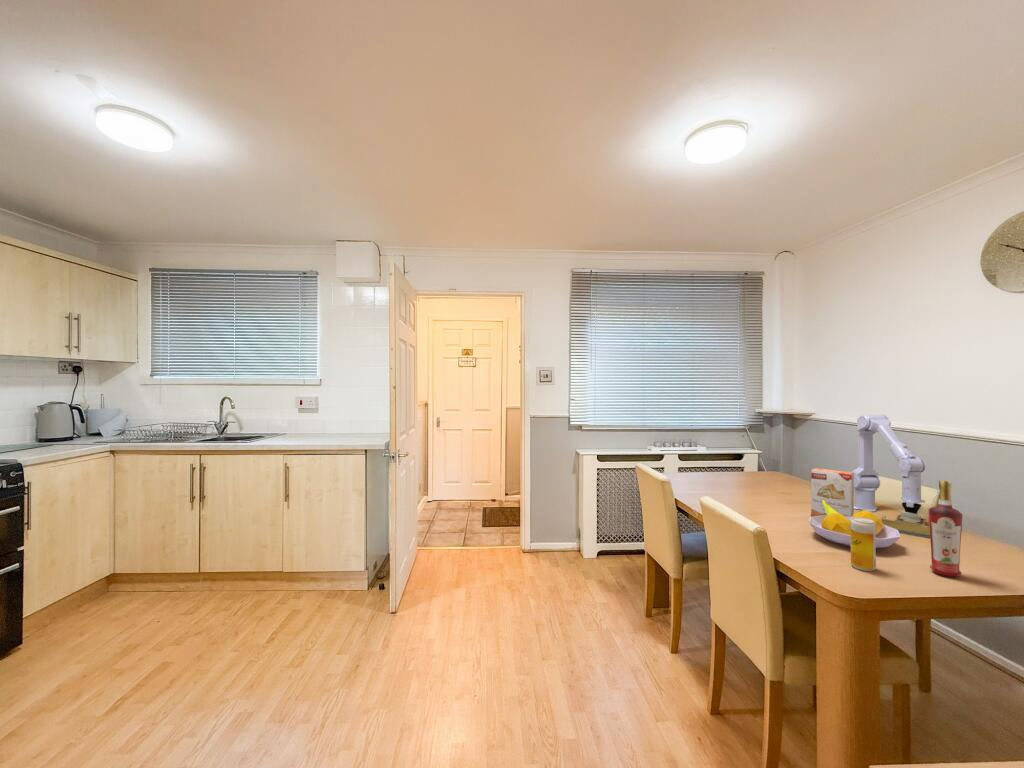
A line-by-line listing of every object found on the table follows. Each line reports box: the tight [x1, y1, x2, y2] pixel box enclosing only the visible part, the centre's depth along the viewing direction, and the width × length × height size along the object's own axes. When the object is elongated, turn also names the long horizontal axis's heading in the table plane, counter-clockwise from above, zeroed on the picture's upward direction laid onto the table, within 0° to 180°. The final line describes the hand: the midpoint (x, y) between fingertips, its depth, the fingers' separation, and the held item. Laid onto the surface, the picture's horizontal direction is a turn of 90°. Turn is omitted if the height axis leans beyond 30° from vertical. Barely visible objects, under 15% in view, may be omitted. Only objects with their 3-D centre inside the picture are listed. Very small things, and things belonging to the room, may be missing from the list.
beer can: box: [850, 518, 877, 572], centre depth 137 cm, size 6×6×15 cm
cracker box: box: [810, 467, 855, 517], centre depth 185 cm, size 14×6×21 cm, turn 45°
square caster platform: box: [894, 511, 928, 526], centre depth 173 cm, size 10×9×5 cm
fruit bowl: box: [808, 500, 901, 549], centre depth 161 cm, size 28×27×11 cm
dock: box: [881, 514, 930, 539], centre depth 173 cm, size 16×18×4 cm
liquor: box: [928, 480, 963, 578], centre depth 132 cm, size 7×7×28 cm
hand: (911, 521), depth 177 cm, fingers closed
